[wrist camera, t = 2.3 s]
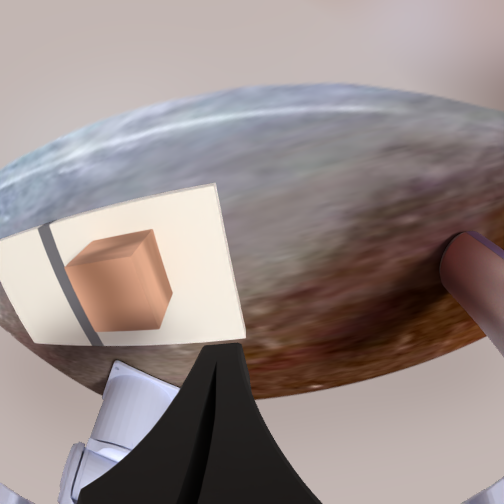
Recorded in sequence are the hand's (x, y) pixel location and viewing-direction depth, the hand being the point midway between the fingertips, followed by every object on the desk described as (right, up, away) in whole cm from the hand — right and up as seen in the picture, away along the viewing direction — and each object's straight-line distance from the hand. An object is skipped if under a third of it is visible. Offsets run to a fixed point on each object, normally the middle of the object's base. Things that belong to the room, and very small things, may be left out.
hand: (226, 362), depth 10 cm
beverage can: (+20, +4, +10) cm, 23 cm away
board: (-12, +1, +11) cm, 16 cm away
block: (-8, +3, +9) cm, 12 cm away
